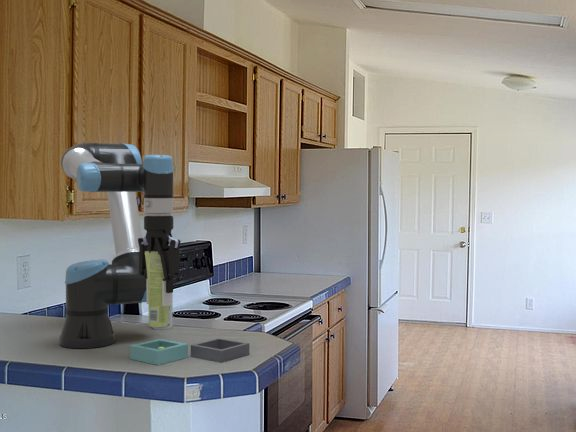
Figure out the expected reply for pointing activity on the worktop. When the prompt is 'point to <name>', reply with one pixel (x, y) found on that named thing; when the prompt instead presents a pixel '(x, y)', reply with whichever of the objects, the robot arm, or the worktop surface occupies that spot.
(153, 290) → the tube
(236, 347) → the gray square frame
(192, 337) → the worktop surface
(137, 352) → the block
